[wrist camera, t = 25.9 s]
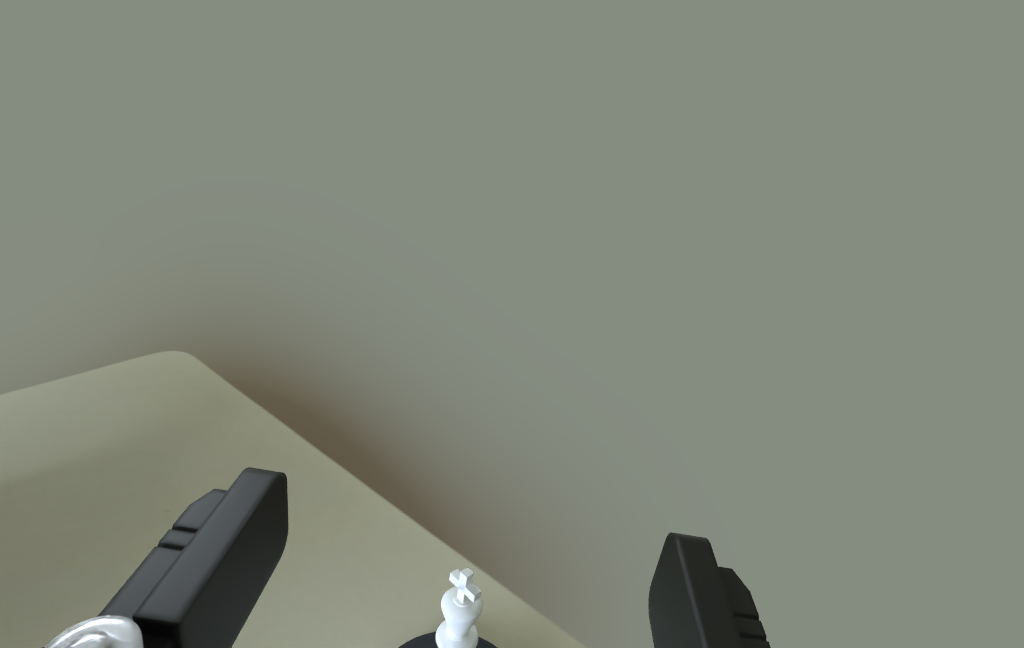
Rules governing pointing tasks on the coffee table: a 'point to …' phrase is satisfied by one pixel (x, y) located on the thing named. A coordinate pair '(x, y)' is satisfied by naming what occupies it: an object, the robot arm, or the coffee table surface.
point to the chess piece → (460, 612)
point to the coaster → (426, 644)
